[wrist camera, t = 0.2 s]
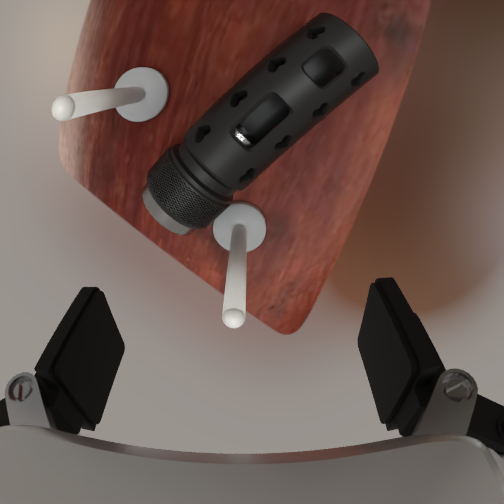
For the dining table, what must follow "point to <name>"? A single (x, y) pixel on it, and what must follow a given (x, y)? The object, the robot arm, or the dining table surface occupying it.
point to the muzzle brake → (257, 122)
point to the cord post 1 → (119, 97)
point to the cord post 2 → (238, 254)
